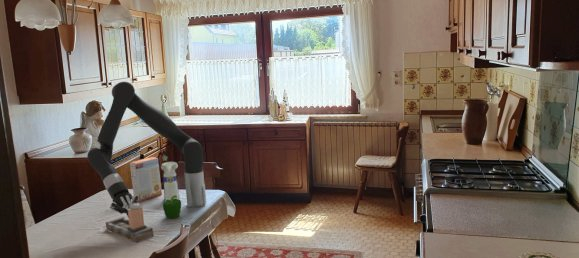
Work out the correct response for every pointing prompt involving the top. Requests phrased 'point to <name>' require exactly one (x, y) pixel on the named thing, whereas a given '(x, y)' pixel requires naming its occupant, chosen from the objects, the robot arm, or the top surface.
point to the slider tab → (136, 218)
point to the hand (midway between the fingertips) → (133, 218)
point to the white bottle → (170, 179)
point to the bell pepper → (172, 207)
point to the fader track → (121, 229)
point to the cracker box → (145, 178)
